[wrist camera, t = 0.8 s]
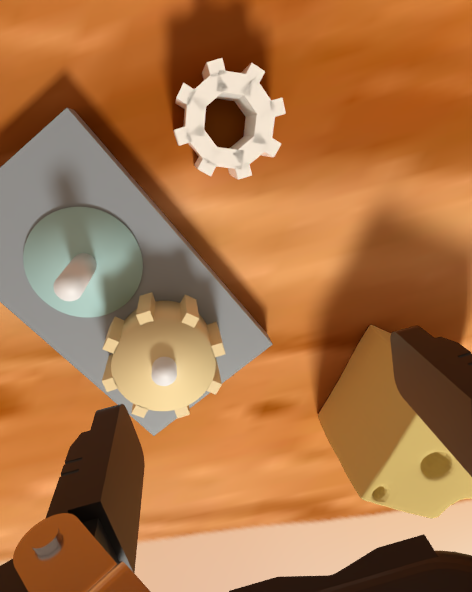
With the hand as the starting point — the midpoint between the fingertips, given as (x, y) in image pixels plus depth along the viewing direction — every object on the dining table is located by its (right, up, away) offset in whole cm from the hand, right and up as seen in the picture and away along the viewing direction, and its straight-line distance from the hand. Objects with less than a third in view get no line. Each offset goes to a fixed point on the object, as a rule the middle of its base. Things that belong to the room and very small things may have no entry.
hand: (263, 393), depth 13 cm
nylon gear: (-2, +14, +16) cm, 22 cm away
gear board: (-9, +4, +19) cm, 21 cm away
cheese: (+13, -5, +26) cm, 29 cm away
